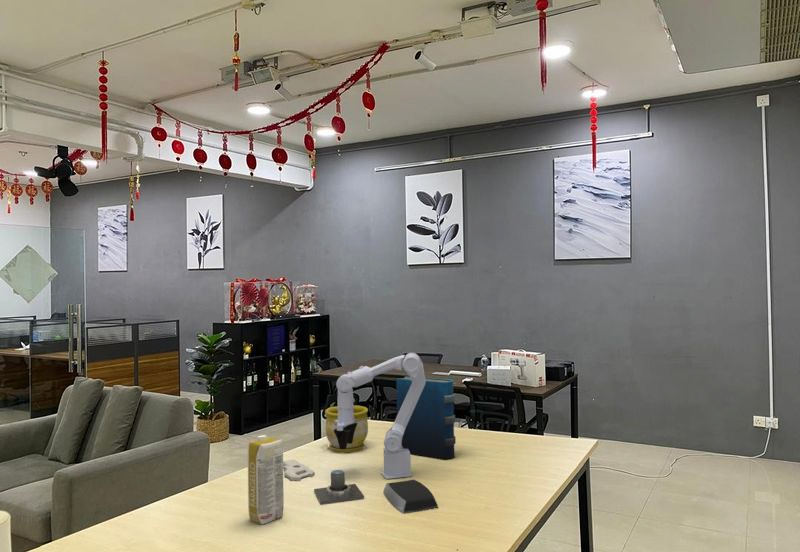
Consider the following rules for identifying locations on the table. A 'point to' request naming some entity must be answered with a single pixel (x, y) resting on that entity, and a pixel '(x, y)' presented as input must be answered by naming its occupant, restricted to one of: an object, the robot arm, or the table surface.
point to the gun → (296, 470)
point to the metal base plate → (338, 494)
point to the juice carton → (265, 479)
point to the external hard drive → (409, 496)
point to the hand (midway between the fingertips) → (346, 446)
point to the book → (429, 419)
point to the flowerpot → (359, 433)
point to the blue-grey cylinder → (337, 480)
